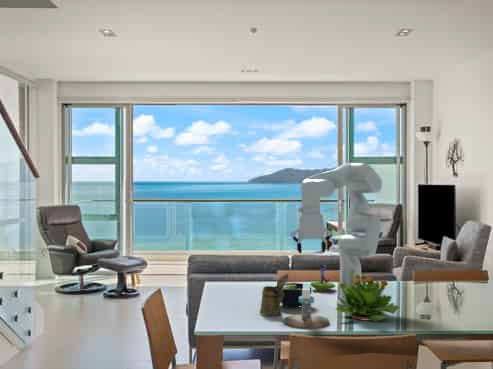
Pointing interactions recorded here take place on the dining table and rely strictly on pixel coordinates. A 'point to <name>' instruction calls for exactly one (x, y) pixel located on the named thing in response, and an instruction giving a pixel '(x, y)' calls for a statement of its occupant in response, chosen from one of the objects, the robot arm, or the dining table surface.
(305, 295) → the white-capped blue bar
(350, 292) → the potted flower
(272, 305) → the wooden mug
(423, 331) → the dining table surface
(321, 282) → the figurine
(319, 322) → the base plate
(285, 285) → the bowl
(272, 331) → the dining table surface
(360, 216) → the robot arm
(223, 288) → the dining table surface
